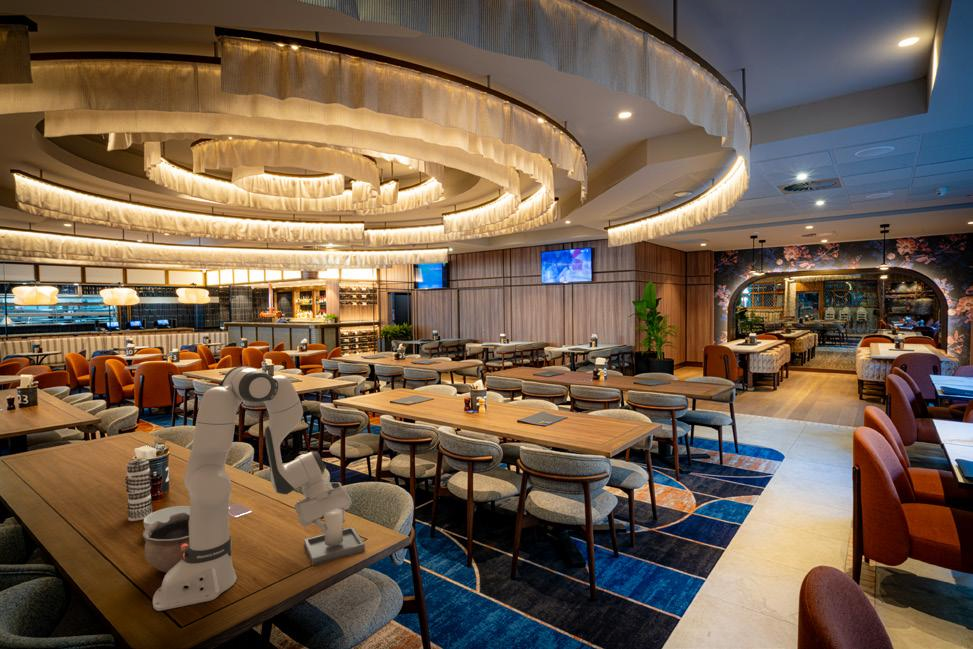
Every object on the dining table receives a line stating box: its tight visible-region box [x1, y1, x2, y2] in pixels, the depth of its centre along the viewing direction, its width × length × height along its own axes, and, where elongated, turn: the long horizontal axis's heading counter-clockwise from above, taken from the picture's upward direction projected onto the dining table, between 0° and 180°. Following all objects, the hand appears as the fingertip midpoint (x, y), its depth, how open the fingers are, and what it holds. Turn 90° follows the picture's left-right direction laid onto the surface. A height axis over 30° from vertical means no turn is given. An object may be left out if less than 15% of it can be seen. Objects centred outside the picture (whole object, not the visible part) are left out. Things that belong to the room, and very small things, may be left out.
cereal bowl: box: [143, 505, 190, 530], centre depth 187 cm, size 17×17×7 cm
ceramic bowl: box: [142, 513, 190, 573], centre depth 161 cm, size 22×22×15 cm
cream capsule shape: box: [323, 508, 344, 546], centre depth 171 cm, size 6×6×11 cm
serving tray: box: [303, 526, 366, 566], centre depth 171 cm, size 18×16×2 cm
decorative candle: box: [125, 457, 153, 522], centre depth 201 cm, size 9×9×25 cm
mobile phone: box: [229, 502, 253, 519], centre depth 206 cm, size 8×1×15 cm
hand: (334, 526), depth 170 cm, fingers closed on cream capsule shape, 6 cm apart
